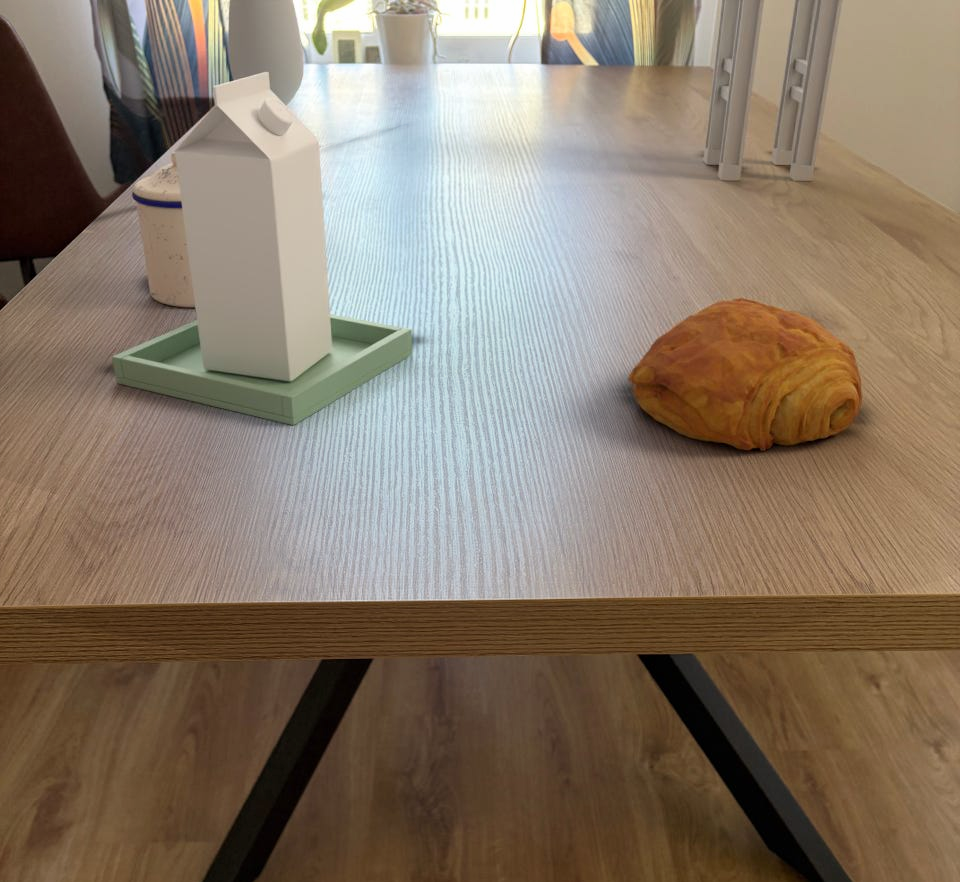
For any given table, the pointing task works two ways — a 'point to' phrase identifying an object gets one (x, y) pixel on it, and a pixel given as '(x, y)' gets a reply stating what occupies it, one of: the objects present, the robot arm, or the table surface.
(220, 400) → the drinks tray
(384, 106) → the table surface
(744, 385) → the croissant
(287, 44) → the wineglass
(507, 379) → the table surface
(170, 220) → the teacup with lid
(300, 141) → the milk carton
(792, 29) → the grey tall open frame
